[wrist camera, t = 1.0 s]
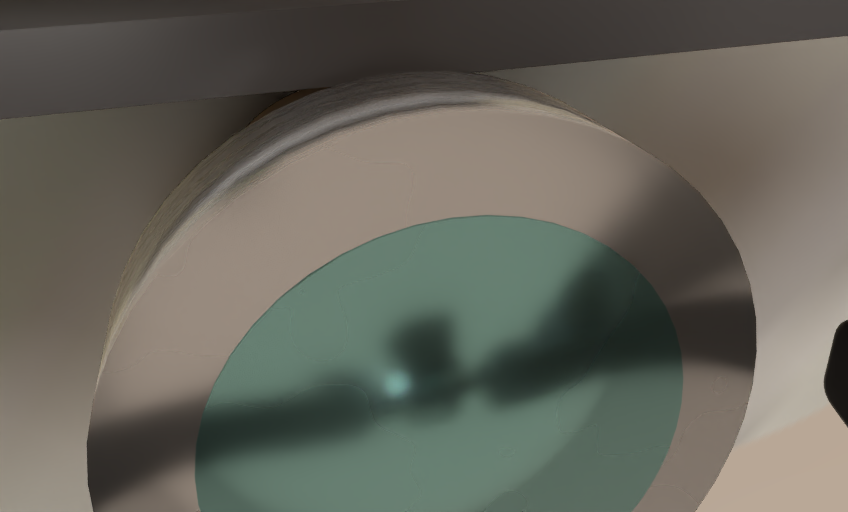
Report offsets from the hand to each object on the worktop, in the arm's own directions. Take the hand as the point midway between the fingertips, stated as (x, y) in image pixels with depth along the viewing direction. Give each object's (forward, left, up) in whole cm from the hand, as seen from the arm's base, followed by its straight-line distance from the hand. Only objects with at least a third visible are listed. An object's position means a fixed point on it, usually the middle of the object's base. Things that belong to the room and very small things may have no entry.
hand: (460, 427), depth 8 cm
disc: (0, 0, -1) cm, 1 cm away
